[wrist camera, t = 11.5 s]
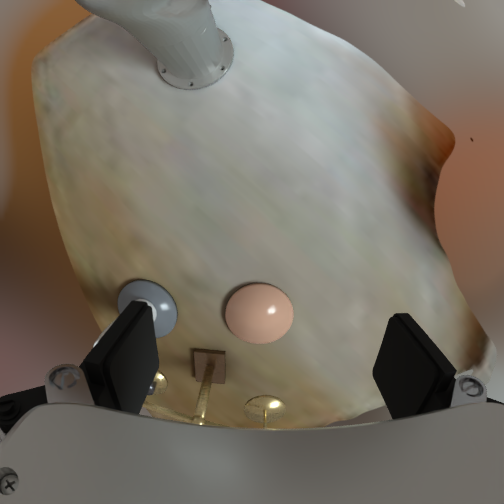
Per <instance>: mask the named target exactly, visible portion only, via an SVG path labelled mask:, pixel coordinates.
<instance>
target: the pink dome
mask: <svg viewBox="0 0 504 504" xmlns="http://www.w3.org/2000/svg"><path fill="white" fill-rule="evenodd" d="M225 317H226V322H227V325H228V327H229V329H230V330H231V331H232V333H233V334H234V335H236V336H237V337H238V338H240V339H241V340H243V341H246V342H249V343H254V344H264V343H270V342H273V341H275V340H277V339H279V338H280V337H282V336H283V335H284V334H285V333H286V332H287V331H288V330H289V328H290V326H291V324H292V321H293V308H292V304H291V301H290V299H289V298H288V296H287V295H286V294H285V293H284V292H283V291H282V290H281V289H279V288H277V287H275V286H273V285H270V284H266V283H254V284H249V285H246V286H244V287H242V288H240V289H238V290H237V291H236V292H235V293H234V294H233V295H232V296H231V297H230V299H229V301H228V303H227V307H226V313H225Z"/></svg>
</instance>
